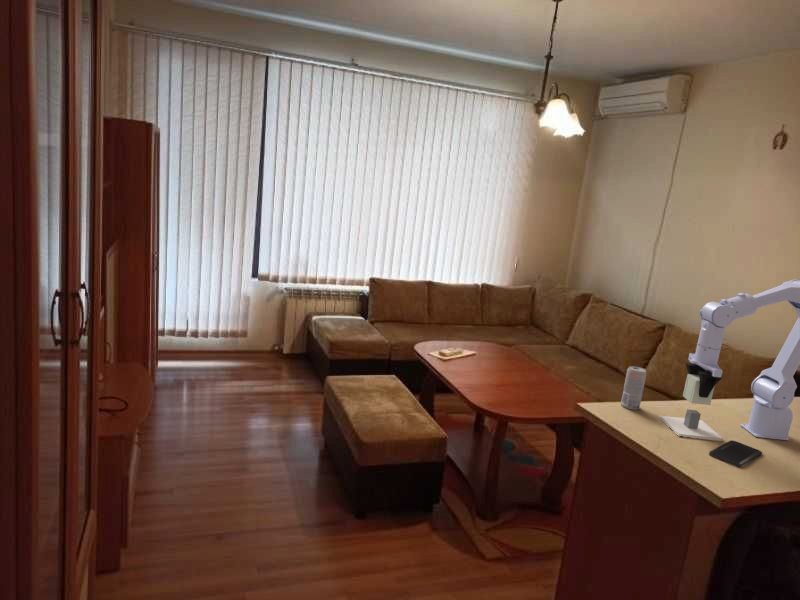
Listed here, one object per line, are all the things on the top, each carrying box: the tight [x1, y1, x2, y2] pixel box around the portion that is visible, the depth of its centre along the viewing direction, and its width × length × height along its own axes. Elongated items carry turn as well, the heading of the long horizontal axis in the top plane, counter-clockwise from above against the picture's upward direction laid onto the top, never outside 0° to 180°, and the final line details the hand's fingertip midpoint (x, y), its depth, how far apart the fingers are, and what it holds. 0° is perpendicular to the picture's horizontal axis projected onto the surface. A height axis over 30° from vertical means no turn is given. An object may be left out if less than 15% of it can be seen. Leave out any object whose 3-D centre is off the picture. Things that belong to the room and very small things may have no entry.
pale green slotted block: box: [682, 373, 716, 406], centre depth 160 cm, size 5×5×7 cm
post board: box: [659, 408, 724, 442], centre depth 161 cm, size 12×12×5 cm
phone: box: [708, 440, 763, 469], centre depth 148 cm, size 8×1×15 cm
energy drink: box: [620, 365, 647, 411], centre depth 173 cm, size 5×5×12 cm
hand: (698, 393), depth 160 cm, fingers closed on pale green slotted block, 5 cm apart
